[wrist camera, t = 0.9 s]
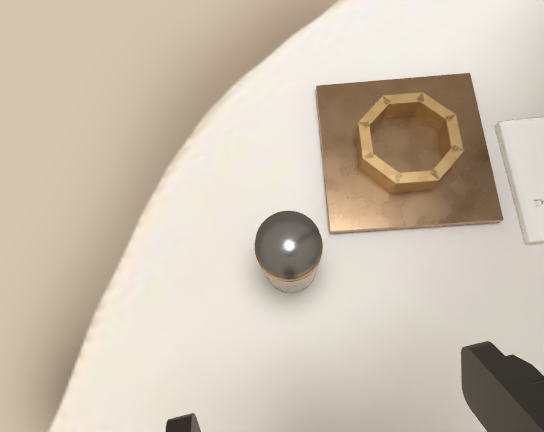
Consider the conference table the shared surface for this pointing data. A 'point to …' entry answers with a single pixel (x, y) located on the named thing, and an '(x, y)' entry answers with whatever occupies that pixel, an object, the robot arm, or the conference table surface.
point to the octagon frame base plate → (405, 155)
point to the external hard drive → (525, 172)
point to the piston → (289, 250)
